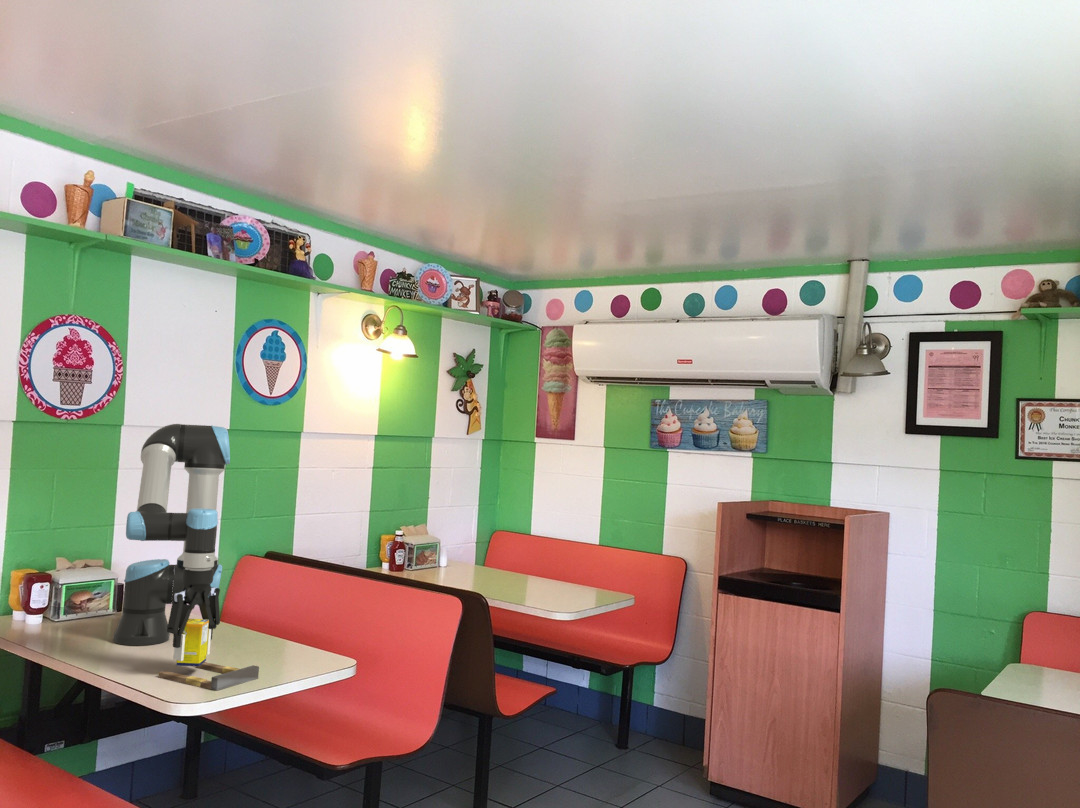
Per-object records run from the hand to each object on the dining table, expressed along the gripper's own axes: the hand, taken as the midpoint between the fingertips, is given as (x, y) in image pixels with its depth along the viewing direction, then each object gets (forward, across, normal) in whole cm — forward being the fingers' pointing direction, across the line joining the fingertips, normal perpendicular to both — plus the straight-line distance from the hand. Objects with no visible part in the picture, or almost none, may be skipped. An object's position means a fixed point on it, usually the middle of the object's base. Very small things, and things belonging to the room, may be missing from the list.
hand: (191, 656), depth 222 cm
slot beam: (+4, 0, -5) cm, 7 cm away
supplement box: (+2, 0, 0) cm, 2 cm away
